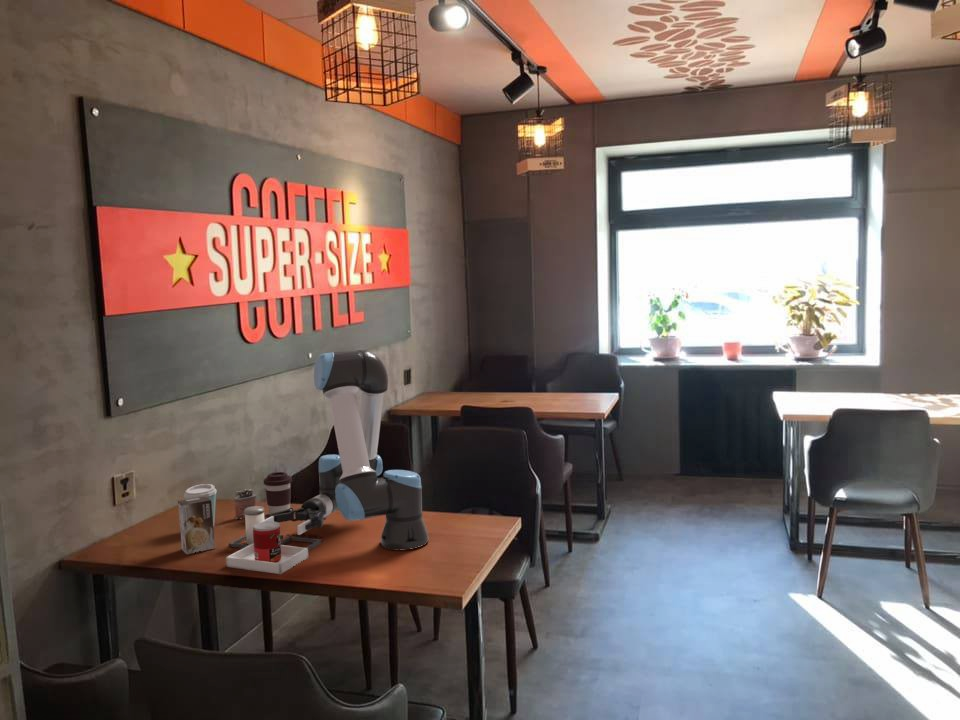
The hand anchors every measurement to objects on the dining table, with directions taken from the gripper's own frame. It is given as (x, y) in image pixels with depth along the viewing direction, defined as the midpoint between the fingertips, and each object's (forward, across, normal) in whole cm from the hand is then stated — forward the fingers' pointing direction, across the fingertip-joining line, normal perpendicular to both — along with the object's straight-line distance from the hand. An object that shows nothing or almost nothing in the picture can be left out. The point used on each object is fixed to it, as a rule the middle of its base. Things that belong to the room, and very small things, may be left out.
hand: (279, 528), depth 245 cm
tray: (+6, 0, -8) cm, 10 cm away
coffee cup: (-36, +25, -9) cm, 45 cm away
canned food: (+6, 0, -8) cm, 10 cm away
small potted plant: (-31, +35, -9) cm, 48 cm away
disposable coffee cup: (-14, +41, -9) cm, 44 cm away
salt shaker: (-8, +15, -9) cm, 19 cm away
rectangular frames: (-8, +7, -9) cm, 14 cm away
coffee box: (+2, +29, -9) cm, 31 cm away
